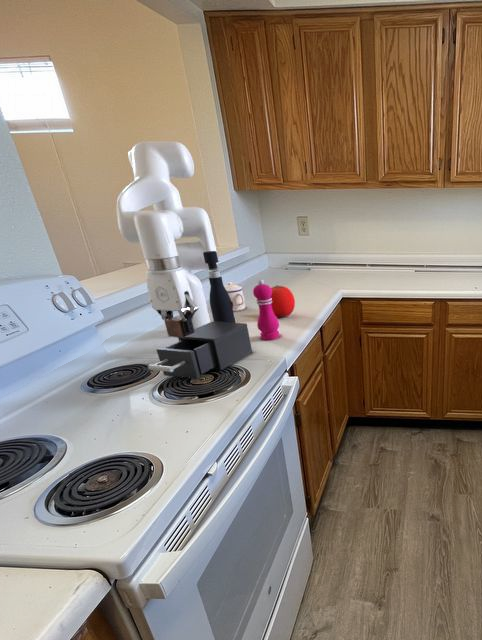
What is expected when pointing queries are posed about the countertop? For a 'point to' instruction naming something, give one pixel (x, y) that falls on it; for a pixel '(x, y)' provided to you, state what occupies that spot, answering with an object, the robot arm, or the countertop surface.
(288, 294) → the tomato
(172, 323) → the block
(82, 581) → the countertop surface
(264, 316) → the pepper mill
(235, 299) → the teacup with lid
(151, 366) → the drawer
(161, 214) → the robot arm
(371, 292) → the countertop surface
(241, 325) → the cabinet
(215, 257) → the wine bottle
